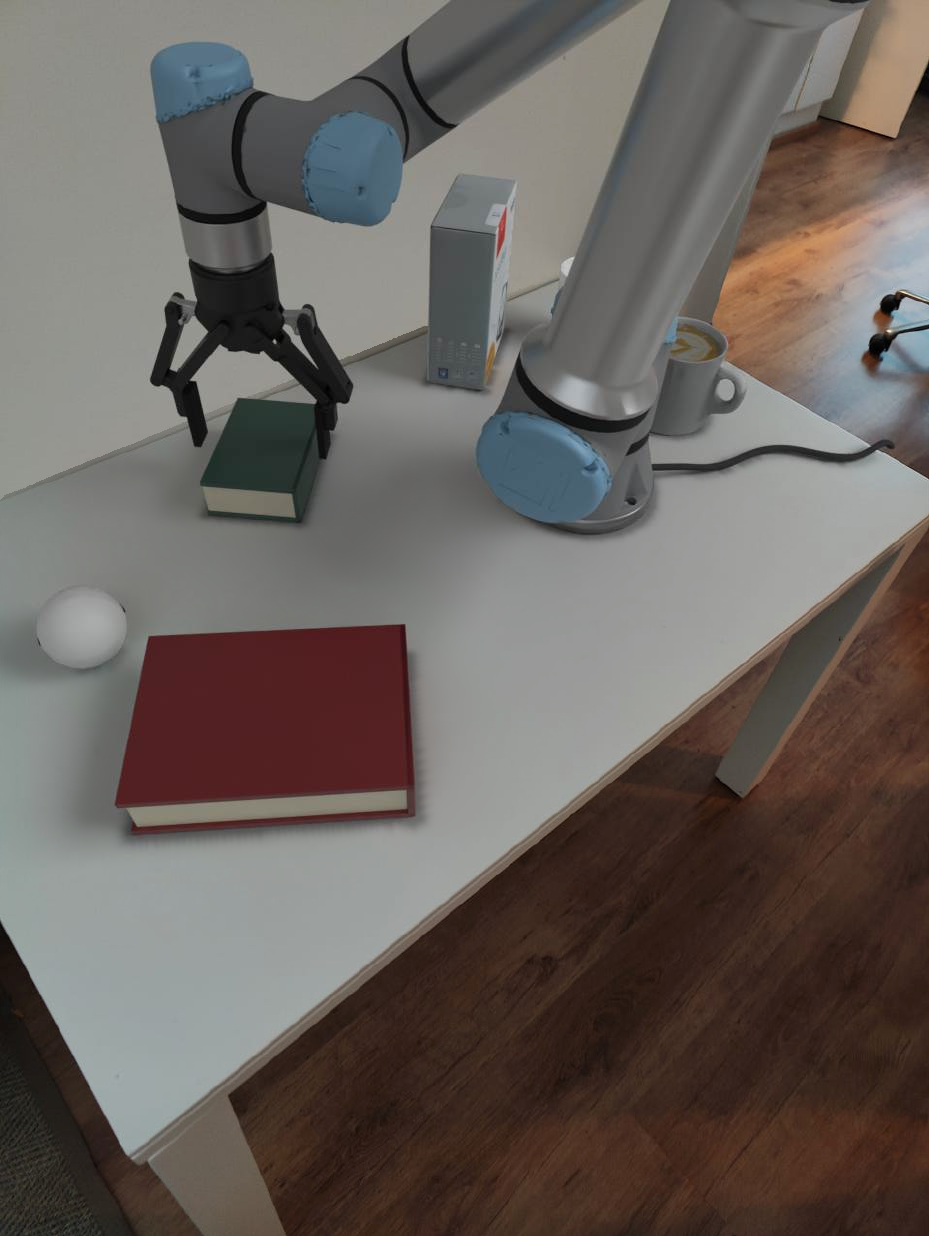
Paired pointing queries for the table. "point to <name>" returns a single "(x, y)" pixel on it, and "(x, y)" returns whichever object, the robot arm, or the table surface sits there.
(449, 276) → the hard drive box
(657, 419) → the coffee mug
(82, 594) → the white smooth round ovoid
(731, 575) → the table surface
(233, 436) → the small book
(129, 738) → the big book
